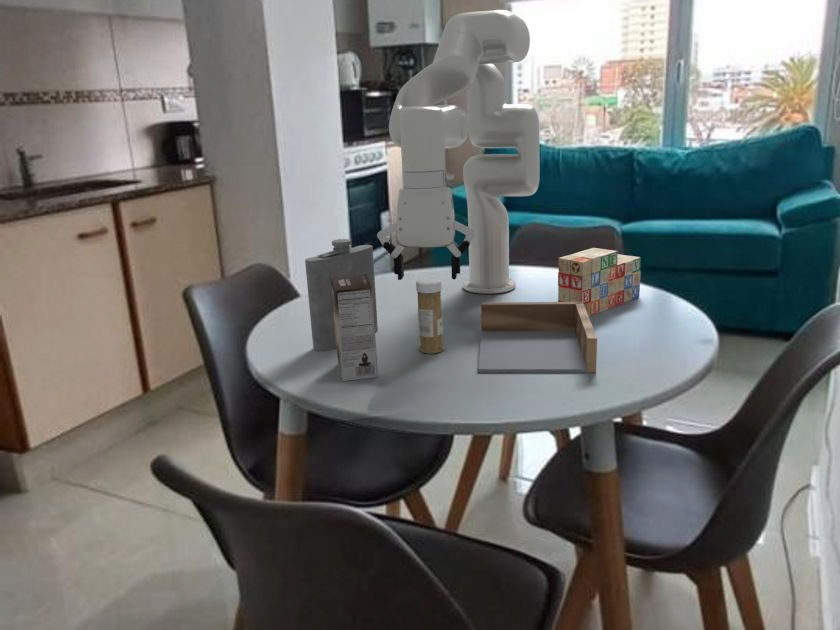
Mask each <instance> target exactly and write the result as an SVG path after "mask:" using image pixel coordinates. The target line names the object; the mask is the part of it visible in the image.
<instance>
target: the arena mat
mask: <svg viewBox="0 0 840 630" xmlns="http://www.w3.org/2000/svg"><path fill="white" fill-rule="evenodd" d="M478 355H479V356H478V368H477V372H478V373H543V374H544V373H545V374H547V373H551V374H553V373H558V374H559V373H561V374H562V373H581V374H582V373H587V368H586V365H585V361H584V358H583V355H582V352H581V349H580V345H579V342H578V339H577V336H576V332H575V331H481V330H480V343H479V353H478Z"/></svg>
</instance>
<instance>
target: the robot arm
mask: <svg viewBox="0 0 840 630" xmlns="http://www.w3.org/2000/svg"><path fill="white" fill-rule="evenodd" d="M530 36H531V35H530V30H529V28H528V26H527V24H526V22H525V21H524V20H523V19H522V18H521V17H520V16H518V15H516V14H515V13H513V12H511V11H508V10H504V9H495V10H494V9H493V10H484V11H483V10H480V11H469V12H462V13H458V14H455V15H453V16H452V17H451V18H449V19H448V21H447V22H446V24H445V26H444V28H443V31H442V35H441V38H440V40H439V43H438V46H437V50H436V52H435V56H434V57H433V61H432V63H431V64H429V65H427V66H426V67H425V68H423V69H421V70H420V71H419V72H418V73H417V74H415V75H414V76H412V77H411V78H410V79H409V80H408V81H407V82H406V83H404V84H403V86H402V87H401V88H400V90H399V92H398V94H397V96H396V98H395V101H394V103H393V106H392V110H391V113H390V117H389V118H390V119H389V122H388V124H389V125H388V130H389V137H390V139H391V140H390V141H391V142H393V145H395V146H396V147H398V148H400V149H401V150H400V156H401V173H402V175H401V177H402V181H401V182H402V188H401V189H399V190H398V191H399V192H398V196H397V205H396V222H394V223H392V224H390V225H388V226H387V227H385V228H383V229H382V230H379V232H377V234H376V237H377V239H378V240H379V241H380V243H381V245H382V247H383V249H384V250H385V251H386V252H387V253H389V254H390V256H391V257H392V258H393V273H394V275H397V280H398V281H402V280H403V279H404V277H405V267H404V265H405V264H404V256H403V254H402V252H403V251H404V249H405V248H442V247H443V248H444V247H446V248H447V249H448V250H449V251H450V252H451V254H452V255H451V258H450V261H451V263H450V265H451V280H456V279H457V275H460V274H461V256H462V254H463V253H464V252H466V250H467V249H468V261H469V262H468V264H469V266H468V268H469V270H468V271H469V273H468V274H469V279H467V280H465V281H464V282H463V286H462V288H463V289H464V290H466V291H467V292H470V293H473V294H474V293H475V294H487V295H488V294H490V295H491V294H501V293H507V292H511V291H512V290H514V289H515V288H516V281H515V280H514V279H512V278H510V255H509V254H510V253H509V252H510V248H509V247H510V245H509V243H510V241H509V240H510V229H509V227H510V226H509V225H510V223H509V222H510V221H509V220H510V219H509V213H508V211H507V208H506V206H505V205H504V204H503V202H502V201H501V200H500V199H499V197H501V198H502V197H530V196H533V195H534V194H536V192H537V190H538V188H539V185H540V173H541V172H540V171H541V168H540V162H541V161H540V152H541V151H540V120H539V116H538V115H539V114H538V112H537V110H536V108H535V106H532V105H530V104H528V103H512V104H511V103H509V104H507V102H506V82H505V79H504V76H503V75H502V73H501V72H500V70H499V69H498V68H497V67H496V65H495V64H512V63H520V62H522V61H523V60H524V59H525V58H526V57H527V55H528V53H529V50H530V43H531V39H530V38H531V37H530ZM465 92H466V99H467V100H466V101H467V102H466V104H467V113H466V111H465V110H464V109H463V108H462V107H461V106H458V105H455V104H439V103H441V102H444V101H447V100H450V99H453V98H454V97H456V96H458V95H460V94H463V93H465ZM468 137H469V141H470V143H471V145H472V146H473V147H476V148H478V149H479V148H480V149H515V150H516V151H517V153H504V154H503V153H498V154H497V153H491V154H489V153H486V154H485V153H484V154H476V155H474V156H471V157H470V158H468V159H467V160H466V161H465V163H464V165H463V169H462V179H463V183H464V189H465V195H466V203H467V219H468V220H467V223H468V224H467V225H468V226H467V225H465V224H463V223H461V222H459V221H457V220H456V217H455V206H454V205H455V204H454V198H453V193H452V189H451V187H447V184H449V183H450V182H455V173H450V172H448V171H447V169H446V168H447V167H446V149H455V148H458V147H461V146H462V145H463V144H464V143H465V142H466V140H468V139H467V138H468ZM456 231H458V232H459V233H462V234H464V236H465V237H464V240H463V241H462V242H461V243H460V244H459V245H458V243H457V242H455V239H456ZM394 232H396V241H397V245H396V246H395V245H394V244H393V243H392V242H391V241H390V239H389V238H388V236H389V235H391V234H393V233H394Z"/></svg>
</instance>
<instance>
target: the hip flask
mask: <svg viewBox="0 0 840 630" xmlns="http://www.w3.org/2000/svg"><path fill="white" fill-rule="evenodd" d="M351 245H352V240H351V239H350V238H339V239H338V238H337V239H332V240H331V246H333V250H332V251H328V252H324V253H321V254H318V255H316V256H312V257H307V258H305V259H304V262H305V273H306V274H305V275H306V284H307V285H306V286H307V295H308V304H309V317H310V318H309V319H310V326H311V327H310V328H311V339H312V348H313V349H312V350H313V351H314V352H321V353H322V352H326V351H331V350H334V349H337V348H336V337H335V326H334V314H333V302H332V290H331V279H330V278H333V277H342V276H352V275H361V274H366V275H367V277H368V279H369V281H370V283H371V285H372V289H373V306H374V323H375V334H376V333H377V332H379V328H378V327H379V325H378V310H377V296H376V281H375V265H374V264H375V263H374V262H375V261H374V249H373V245H370V244H362V245H360V244H359V245H358V246H357V245H356V246H354V247H351Z"/></svg>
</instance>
